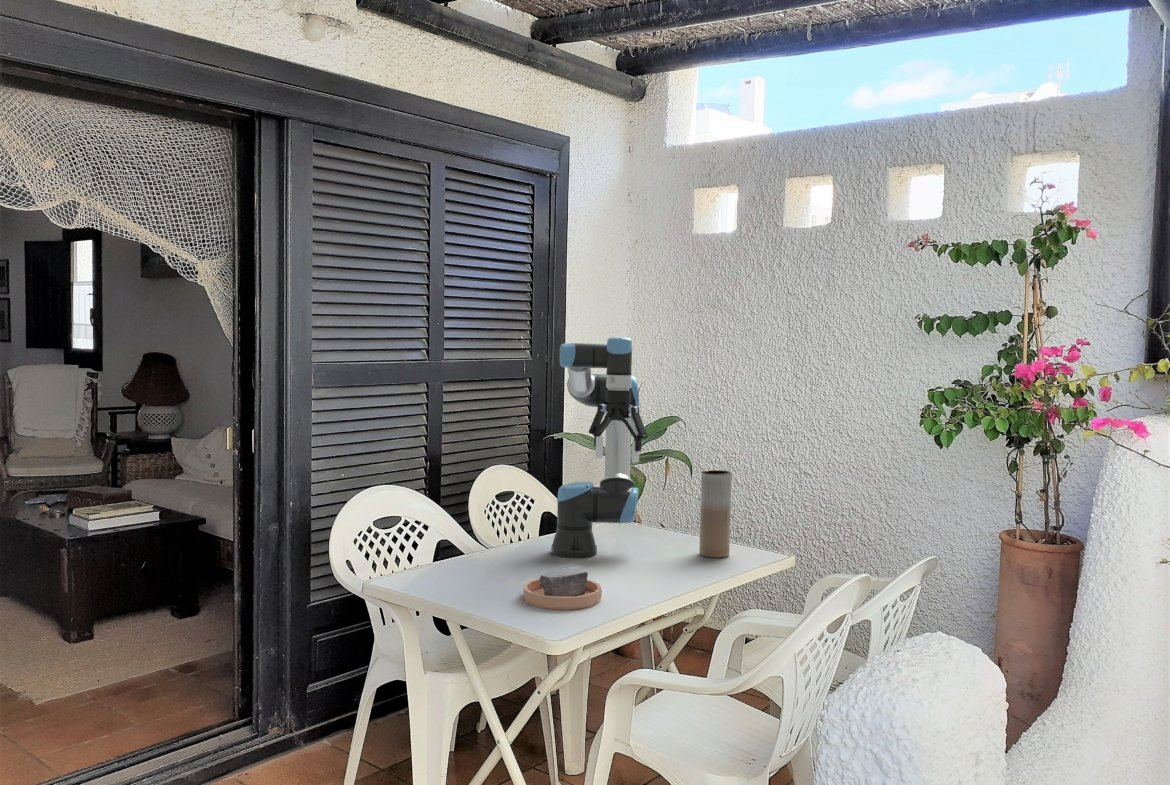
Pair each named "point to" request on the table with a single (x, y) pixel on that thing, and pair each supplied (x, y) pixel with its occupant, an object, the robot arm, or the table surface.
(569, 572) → the decorative stone
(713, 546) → the vase
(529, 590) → the saucer
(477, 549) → the table surface
